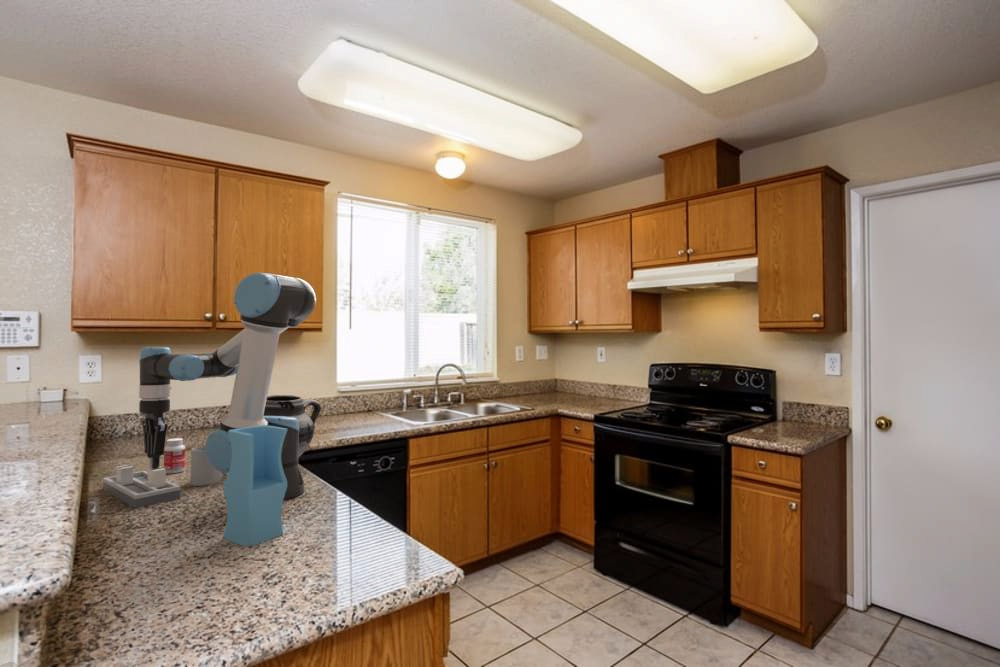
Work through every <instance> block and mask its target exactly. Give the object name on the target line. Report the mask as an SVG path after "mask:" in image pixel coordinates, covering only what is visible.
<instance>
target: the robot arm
mask: <svg viewBox="0 0 1000 667" xmlns="http://www.w3.org/2000/svg"><path fill="white" fill-rule="evenodd" d="M233 303H234V305H235V308H236V311H237V312H238V313H239V314H240V322H241V323H242V324H243V326H244V329H242V330H241V331H240V332H238V333H237V334H236V335H234V336H233V337H232V338H230V339H229V340H227V342H225V343H224V344H223V345H221V346H220V347H219V348H217V349H216V350H215V351H214V352H211V353H210V352H209V353H186V354H185V353H183V354H181V353H179V354H178V353H177V354H175V353H174V354H173V353H172V352H171V348H170V347H168V346H145V347H142V348H141V349H140V357H139V390H138V393H139V394H138V398H139V399H140V400H139V405H138V406H139V407H138V409H139V413H140V414H144V415H145V418H144V419H143V420H142V421H141V425H142V433H143V434H142V436H143V448H144V453H145V454H146V457H147V472H148V479H149V469H152V468H159V467H161V456H164V448H165V447H166V446H165V444H166V438H167V437H166V436H167V430H168V428H169V425H168V423H165V421H166V420H165V416H164V413H167V412H170V410H171V399H169V398H170V396H171V394H170V393H171V390H172V386H171V381H180V382H187V381H189V382H190V381H191V382H192V381H195V380H197V379H199V380H201V379H207V378H208V379H209V378H210V379H211V378H226V377H229V376H230V377H231V376H234V375H235V379H234V383H233V384H234V385H233V387H232V388H233V389H232V395H231V398H230V399H231V400H230V403H229V409H228V412H227V413H226V414H225V415H223V416H222V417H221V418H220V421H219V428H218V429H217V430H213V431H212V432H211V433H210V434H208V436H207V438H206V441H205V445H204V446H205V447H206V454H207V457H208V459H209V461H210V463H211V464H212V466H213V467H214V468H215V469H217V470H218V471H221V473H225V474H228V472H229V469H230V466H231V460H232V448H231V442H230V438H229V434H228V431H229V430H232V429H238V428H245V427H252V426H258V425H268V426H274V427H280V428H286V429H287V433H286V436H285V439H284V442H283V446H282V452H281V462H282V467H283V471H284V474H285V477H286V479H287V489H286V492H285V496H284V500H289V499H293V498H296V497H298V496H300V495H302V494H304V492H305V482H304V479H303V476H302V474H301V470H300V466H299V457H298V455H299V423H298V420H297V419H296V418H294V417H286V416H263V415H264V410H265V405H266V400H267V396H269V395H268V394H269V390H270V384H271V379H272V376H273V370H274V369H273V368H274V364H275V360H276V354H277V350H278V345H279V339H280V336H281V334H283V333H284V332H285V331H286V330H287V329H289V328H296V327H297V326H299V325H300V324H302V323H303V322H304V321H306V320H307V319H308V318H309V317H310V316H311V315H312V313H313V311H314V309H315V308H316V304H317V297H316V293H315V290H314V289H313V287H312V286H311V285H310V283H308V281H306V280H303V279H301V278H299V277H290V276H287V275H286V276H285V275H279V274H273V273H271V272H270V273H269V272H253V273H251V274H248V275H247V276H246V277H244V278H241V280H240V281H239V283H238V284H237V286H236V288H235V290H234V296H233Z"/></svg>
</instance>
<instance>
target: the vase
mask: <svg viewBox="0 0 1000 667" xmlns="http://www.w3.org/2000/svg"><path fill="white" fill-rule="evenodd" d="M286 433H287V429H286V428H280V427H274V426H268V425H258V426H252V427H245V428H238V429H232V430H229V431H228V434H229V438H230V442H231V448H232V460H231V466H230V469H229V472H228V473H227V476H226V478H225V481H224V483H223V486H222V487H223V490H222V491H223V493H224V497H225V501H226V507H227V516H226V519H227V520H226V526H225V529H224V533H223V536H222V539H224V540H227V541H229V542H233V543H234V544H236V545H237V544H238V545H239V546H243V547H252V546H256V545H259V544H261V543H264V542H266V541H270V540H272V539H274V538H278V537H281V536H282V535H283V534H284V529H283V524H282V510H283V504H284V500H285V499H284V496H285V492H286V489H287V479H286V477H285V474H284V471H283V467H282V462H281V452H282V446H283V442H284V439H285V436H286Z"/></svg>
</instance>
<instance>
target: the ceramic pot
mask: <svg viewBox="0 0 1000 667" xmlns="http://www.w3.org/2000/svg"><path fill="white" fill-rule="evenodd" d="M308 406H313V411H312V413H311V415H310V416H309V415H308V414H307V412H306V408H308ZM321 409H322V406H321V404H320V402H319V401H318V400H315V399H312V398H311V399H310V398H309V399H305V400H304V399H303V397H302V396H298V395H292V394H291V395H290V394H274V395H267V400H266V405H265V410H264V415H263V416H286V417H294V418H296V419H297V420H298V423H299V455H298V458H300V457H301V456H302V455H303V454H304V453H305V452H306V451H307V449H308V447H309V445H310V444H311V441H312V440H313V438H314V434H315V429H316V427H315V425H316V420H317V419H318V417H319V414H320V413H321Z"/></svg>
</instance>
